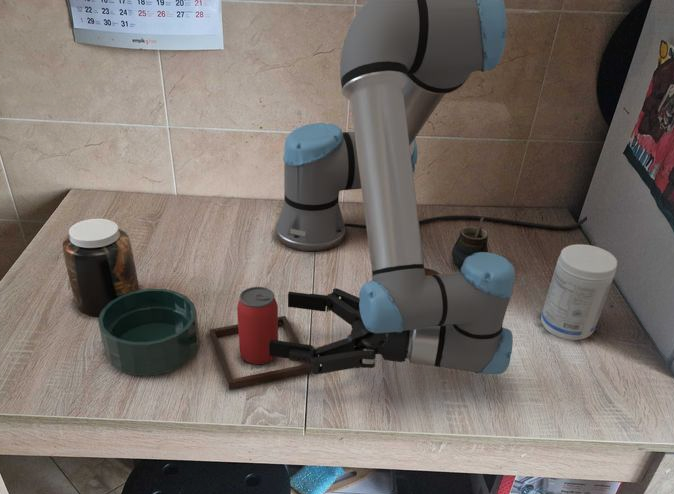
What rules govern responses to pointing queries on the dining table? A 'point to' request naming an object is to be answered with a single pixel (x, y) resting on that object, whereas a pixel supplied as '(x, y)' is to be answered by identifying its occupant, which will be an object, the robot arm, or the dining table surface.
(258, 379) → the brown square frame
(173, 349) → the green bowl
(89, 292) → the jar
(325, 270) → the dining table surface
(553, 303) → the supplement tub
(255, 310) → the beer can
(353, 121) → the robot arm
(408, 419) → the dining table surface
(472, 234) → the mate gourd
